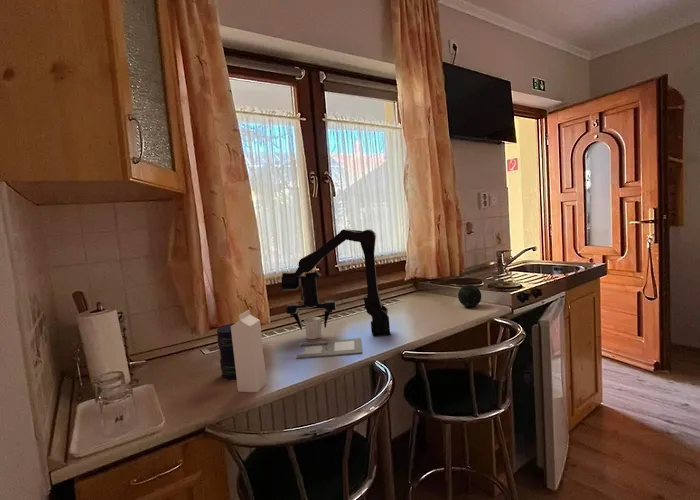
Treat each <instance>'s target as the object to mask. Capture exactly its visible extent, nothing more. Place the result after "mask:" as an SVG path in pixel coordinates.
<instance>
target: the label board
mask: <svg viewBox="0 0 700 500" xmlns="http://www.w3.org/2000/svg"><path fill="white" fill-rule="evenodd" d="M323 345H327V348H326V351H325V352H322V350H323ZM300 347H304V351H303V354H302V353H301V354H296V360H299V359H311V358H312V359H314V358H326V357H336V356H348V355H362V354H363V348H362V339H361V337H356V338H345V339H342V338H341V339H331V340H330V339H329V340H319V341H307V342H301V343H300Z"/></svg>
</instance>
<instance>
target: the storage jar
mask: <svg viewBox="0 0 700 500" xmlns="http://www.w3.org/2000/svg"><path fill="white" fill-rule="evenodd" d="M235 323H236V322H234V323H228V324H224V325H221V326H219V327H217V328H216V334H217V335H216V336H217V338H216V339H217V343H218V344H217V346H218V348H219V353H220V359H219V363H220V370H221V374H222V375H221V378H222V379H223V380H225V381H229V382H230V381H237V377H236V369H235V360H234V351H233V342H232V333H231V326H232V325H233V324H235Z"/></svg>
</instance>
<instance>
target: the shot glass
mask: <svg viewBox="0 0 700 500" xmlns="http://www.w3.org/2000/svg"><path fill="white" fill-rule="evenodd" d="M303 324H304V329H305V334H306V338H307V339H309V340H315V339H316V340H317V339H320V338H321V337H322V317H320V316H309V317H307V318H304V319H303Z"/></svg>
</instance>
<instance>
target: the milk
mask: <svg viewBox="0 0 700 500" xmlns="http://www.w3.org/2000/svg"><path fill="white" fill-rule="evenodd" d="M238 318H239V320H238V321H237V322H234V323H235V324H233V323H232V324H233V325H232V326H231V333H232V342H233V351H234V360H235V369H236V377H237V380H236V386H237V391H238V393H258V392H260V390H261V389H262V388H263V387H265V385H267V377H266V374H267V372H266V366H265V356H264V347H263V336H262V329H261V320H260V319H258V318H257V317H255V316H254V315H252V314H251V312H250V309H247V310H246V311H244V312H242V313H240V314H239V315H238Z"/></svg>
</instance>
